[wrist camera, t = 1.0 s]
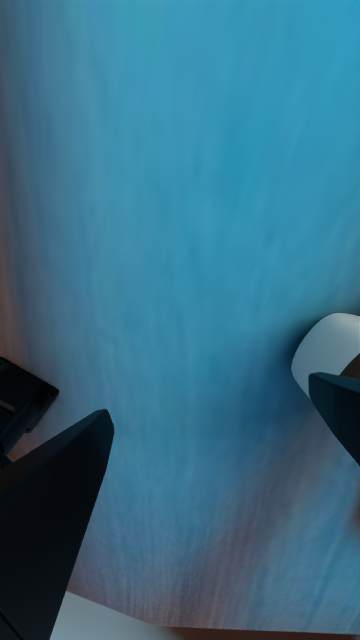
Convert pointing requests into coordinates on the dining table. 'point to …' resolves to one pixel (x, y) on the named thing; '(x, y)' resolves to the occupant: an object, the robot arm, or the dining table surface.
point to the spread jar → (329, 349)
